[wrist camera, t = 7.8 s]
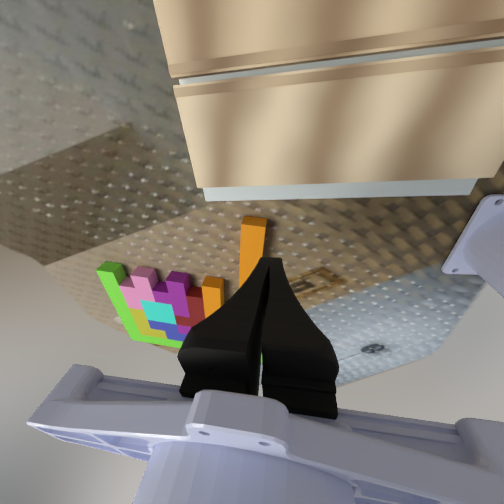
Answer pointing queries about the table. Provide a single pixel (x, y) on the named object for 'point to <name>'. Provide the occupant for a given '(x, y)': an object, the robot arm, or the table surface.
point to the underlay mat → (354, 188)
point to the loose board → (350, 122)
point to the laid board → (312, 30)
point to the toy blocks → (174, 293)
